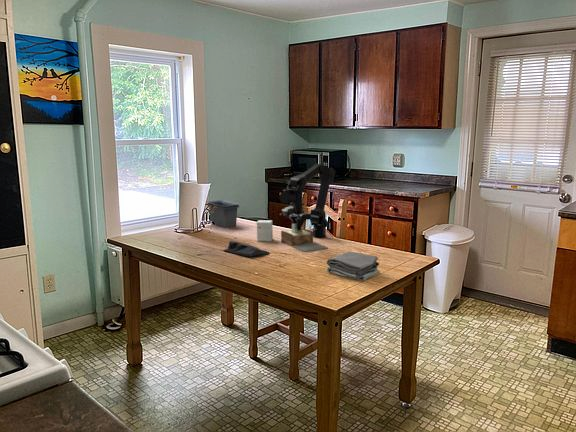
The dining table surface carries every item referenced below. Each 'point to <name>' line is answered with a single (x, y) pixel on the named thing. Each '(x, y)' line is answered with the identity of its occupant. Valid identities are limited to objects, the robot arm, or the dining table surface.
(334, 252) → the dining table surface
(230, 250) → the crumpled dark cloth
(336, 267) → the towel
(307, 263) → the dining table surface
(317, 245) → the rubber mat
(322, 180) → the robot arm
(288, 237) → the walnut box
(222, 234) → the dining table surface
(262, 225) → the small box
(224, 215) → the storage bin
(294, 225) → the cover plate
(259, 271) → the dining table surface
